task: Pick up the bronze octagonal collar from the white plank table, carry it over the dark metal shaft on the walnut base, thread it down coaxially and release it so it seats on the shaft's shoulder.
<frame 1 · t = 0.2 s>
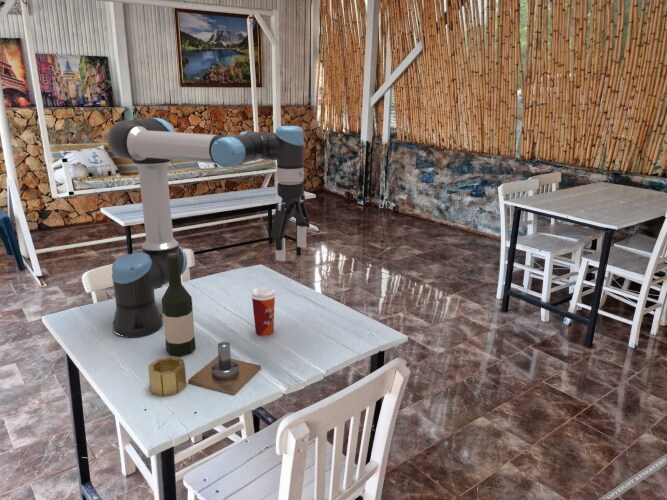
hand: (291, 253, 155), 28 cm above the table, fingers open, 13 cm apart
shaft: (225, 375, 143), on the table
paper cup: (264, 332, 168), on the table
wine bottle: (181, 350, 156), on the table
collar: (168, 385, 138), on the table
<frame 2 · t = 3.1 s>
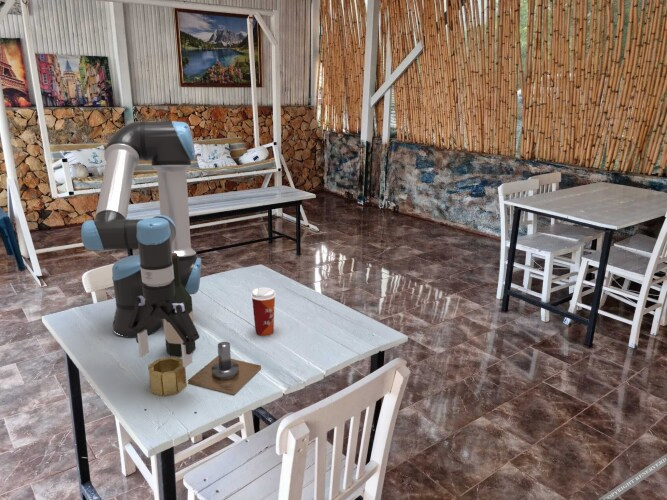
hand: (165, 359, 135), 8 cm above the table, fingers open, 13 cm apart
nothing on the table moved.
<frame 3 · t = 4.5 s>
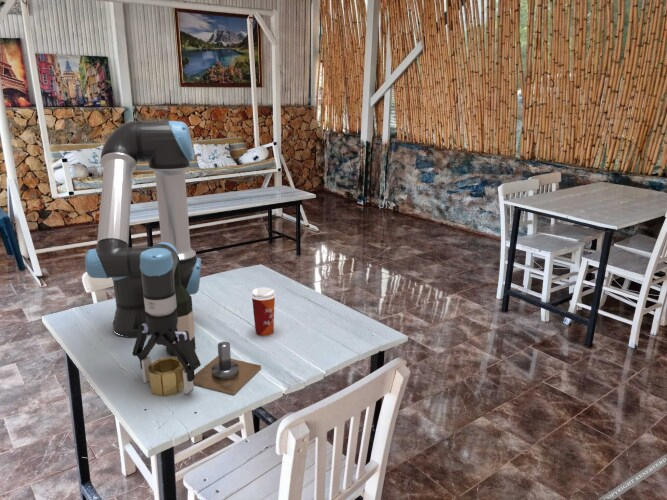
hand: (168, 385, 137), 0 cm above the table, fingers open, 12 cm apart
nothing on the table moved.
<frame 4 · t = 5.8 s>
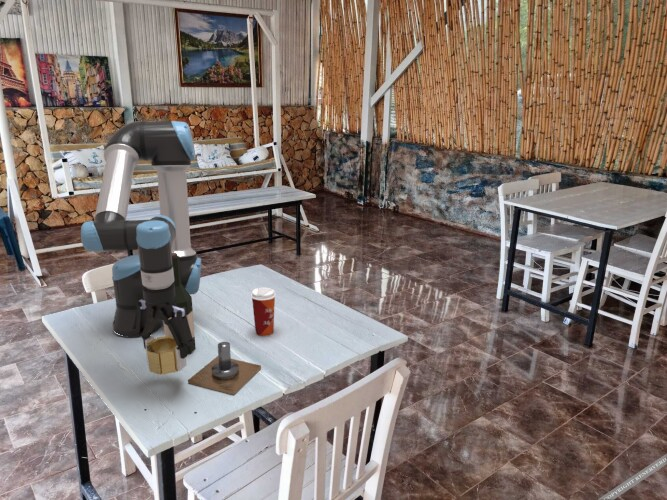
hand: (166, 363, 136), 6 cm above the table, fingers closed on collar, 9 cm apart
collar: (167, 364, 136), point 6 cm above the table, touching gripper
everything else where it was.
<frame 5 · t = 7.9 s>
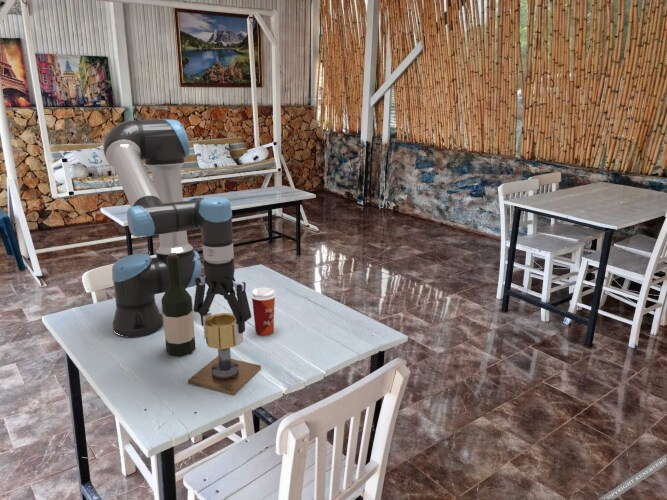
hand: (223, 340, 139), 11 cm above the table, fingers closed on collar, 9 cm apart
collar: (223, 340, 139), point 11 cm above the table, touching gripper
everything else where it was.
when the fingers open (4 cm above the table, at t = 10.1 s): collar drops 2 cm, resting on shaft.
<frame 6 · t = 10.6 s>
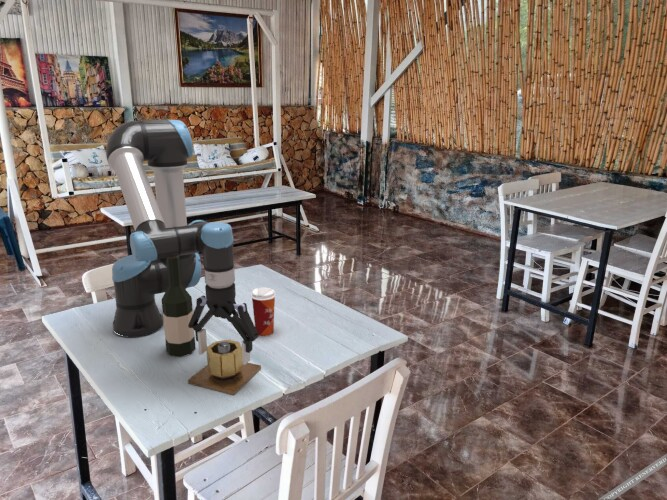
hand: (224, 357, 141), 6 cm above the table, fingers open, 13 cm apart
collar: (225, 367, 142), point 2 cm above the table, touching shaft
everything else where it was.
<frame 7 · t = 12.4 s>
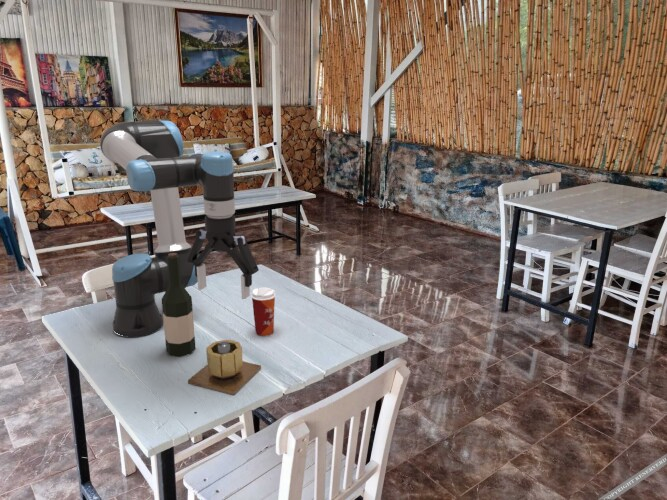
hand: (223, 292, 139), 23 cm above the table, fingers open, 13 cm apart
nothing on the table moved.
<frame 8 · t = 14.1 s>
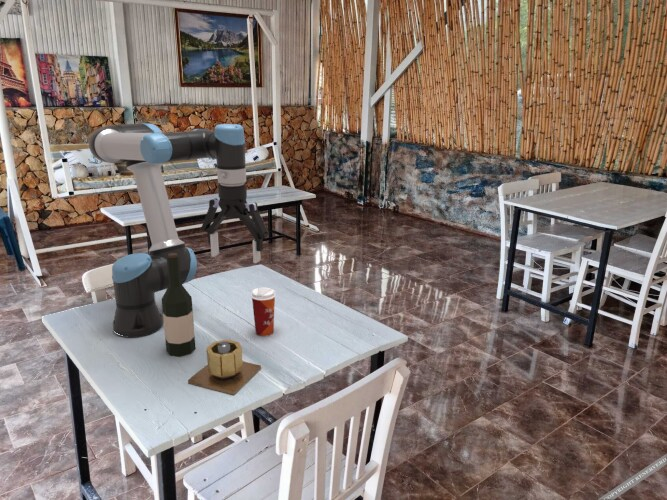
hand: (235, 258, 147), 29 cm above the table, fingers open, 13 cm apart
nothing on the table moved.
at the end: collar 0.1 cm from the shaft (horizontally); collar 0.1 cm off-centre on the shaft, point 2.5 cm above the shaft's base; the gripper is holding nothing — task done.
